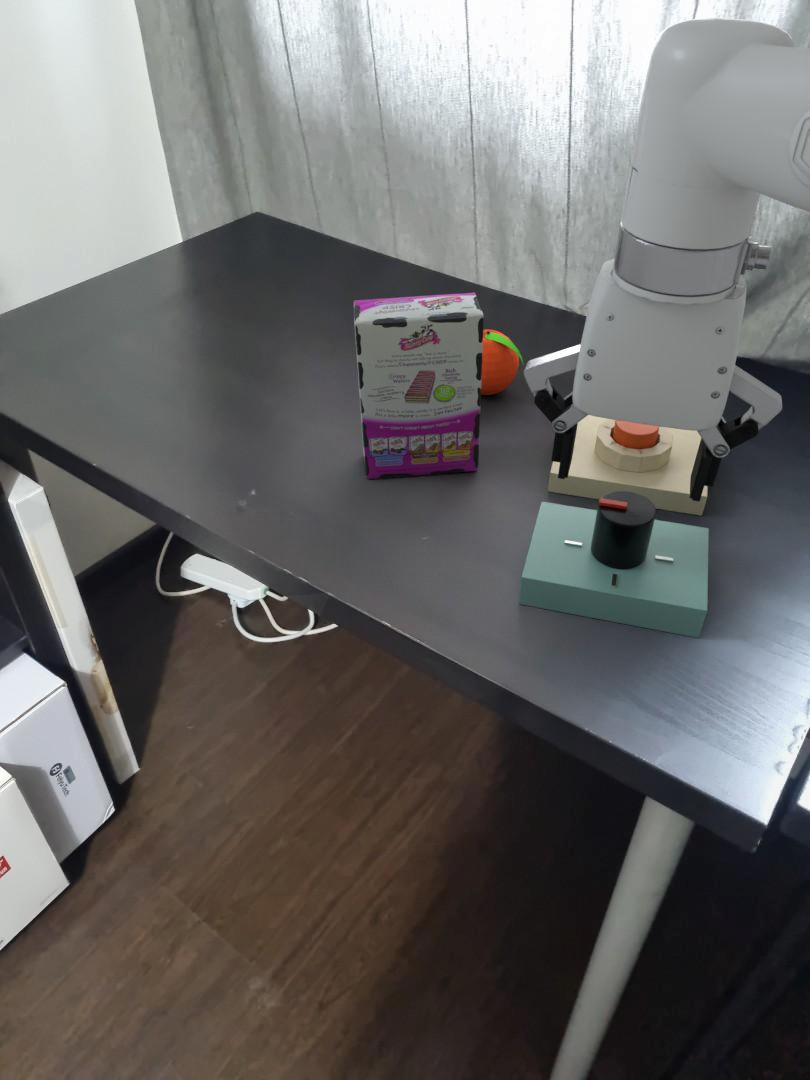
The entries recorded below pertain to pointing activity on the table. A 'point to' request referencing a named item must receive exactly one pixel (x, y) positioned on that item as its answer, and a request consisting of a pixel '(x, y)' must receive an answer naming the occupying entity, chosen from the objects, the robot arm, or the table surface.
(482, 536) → the table surface
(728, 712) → the table surface
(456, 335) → the candy bar box
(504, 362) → the clementine
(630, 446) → the power button
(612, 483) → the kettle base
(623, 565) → the knob
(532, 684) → the table surface
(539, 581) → the dial panel
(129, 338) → the table surface
